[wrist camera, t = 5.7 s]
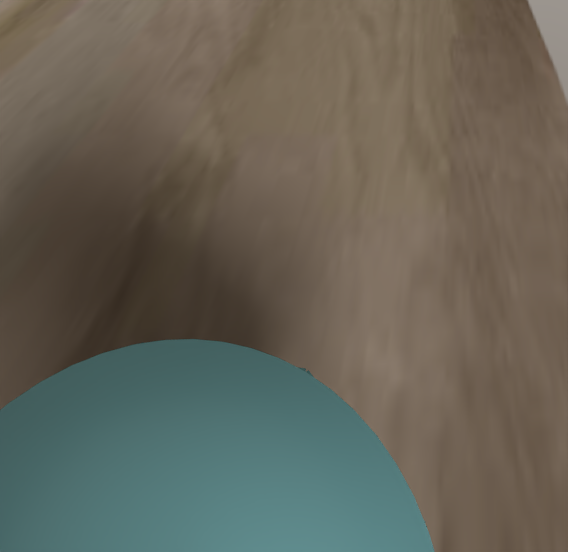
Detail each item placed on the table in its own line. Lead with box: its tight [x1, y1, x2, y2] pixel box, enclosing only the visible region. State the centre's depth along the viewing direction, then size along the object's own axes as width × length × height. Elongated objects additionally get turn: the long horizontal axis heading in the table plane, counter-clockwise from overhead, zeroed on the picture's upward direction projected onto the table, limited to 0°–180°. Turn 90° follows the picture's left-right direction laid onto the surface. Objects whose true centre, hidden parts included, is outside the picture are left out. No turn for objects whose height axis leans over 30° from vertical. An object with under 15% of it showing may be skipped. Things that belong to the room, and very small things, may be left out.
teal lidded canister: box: [0, 339, 434, 552], centre depth 9 cm, size 6×6×12 cm
